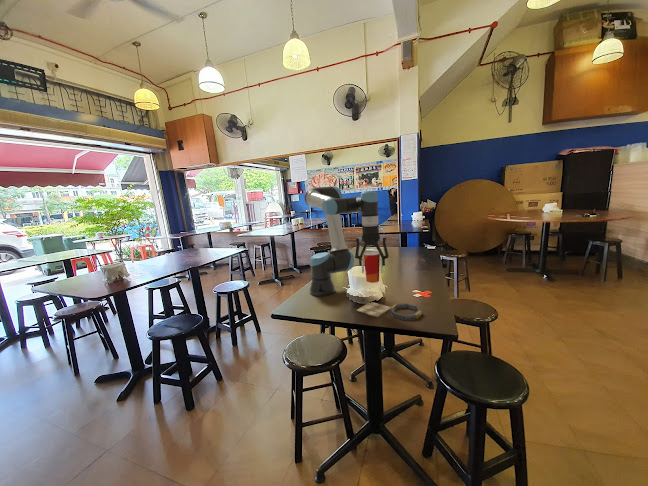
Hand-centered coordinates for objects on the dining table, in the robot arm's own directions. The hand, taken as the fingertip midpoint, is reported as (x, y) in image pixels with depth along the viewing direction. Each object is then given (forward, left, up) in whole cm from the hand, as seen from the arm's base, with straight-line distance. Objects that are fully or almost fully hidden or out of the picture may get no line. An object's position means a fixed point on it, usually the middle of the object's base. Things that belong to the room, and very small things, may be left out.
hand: (372, 272), depth 120 cm
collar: (+14, +5, -19) cm, 24 cm away
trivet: (0, 0, -19) cm, 19 cm away
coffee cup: (0, 0, -4) cm, 4 cm away
